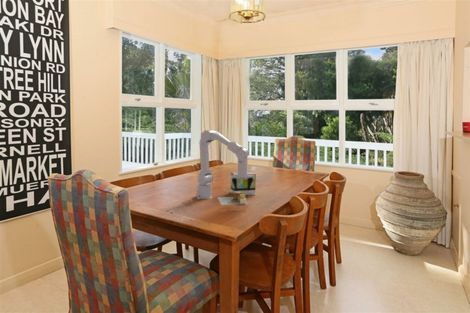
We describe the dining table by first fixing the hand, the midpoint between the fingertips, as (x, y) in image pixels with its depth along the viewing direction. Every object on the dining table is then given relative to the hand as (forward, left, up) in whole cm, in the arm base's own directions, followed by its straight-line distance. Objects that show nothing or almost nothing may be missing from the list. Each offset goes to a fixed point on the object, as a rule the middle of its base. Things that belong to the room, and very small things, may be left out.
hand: (242, 190), depth 191 cm
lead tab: (0, 0, -7) cm, 7 cm away
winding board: (-5, +5, -8) cm, 11 cm away
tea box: (+5, +23, -8) cm, 25 cm away
